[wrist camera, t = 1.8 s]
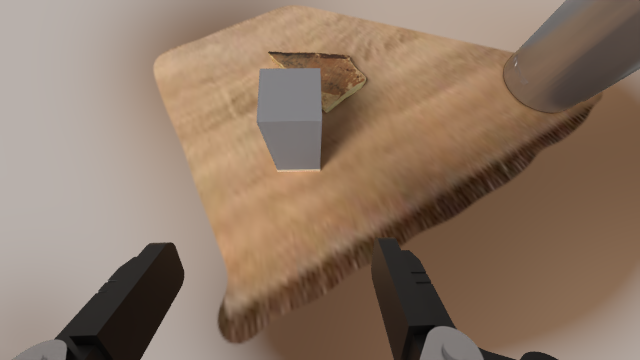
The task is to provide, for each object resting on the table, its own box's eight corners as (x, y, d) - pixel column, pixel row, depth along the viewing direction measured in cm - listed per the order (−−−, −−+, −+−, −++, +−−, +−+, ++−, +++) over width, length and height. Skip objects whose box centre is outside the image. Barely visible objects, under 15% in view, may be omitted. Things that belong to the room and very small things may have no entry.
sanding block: (319, 133, 28) (320, 67, 18) (320, 171, 26) (322, 121, 17) (278, 133, 28) (259, 68, 18) (277, 172, 26) (255, 122, 17)
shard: (269, 61, 31) (266, 49, 30) (315, 33, 33) (315, 20, 31) (323, 118, 29) (324, 109, 27) (370, 84, 31) (373, 74, 29)
